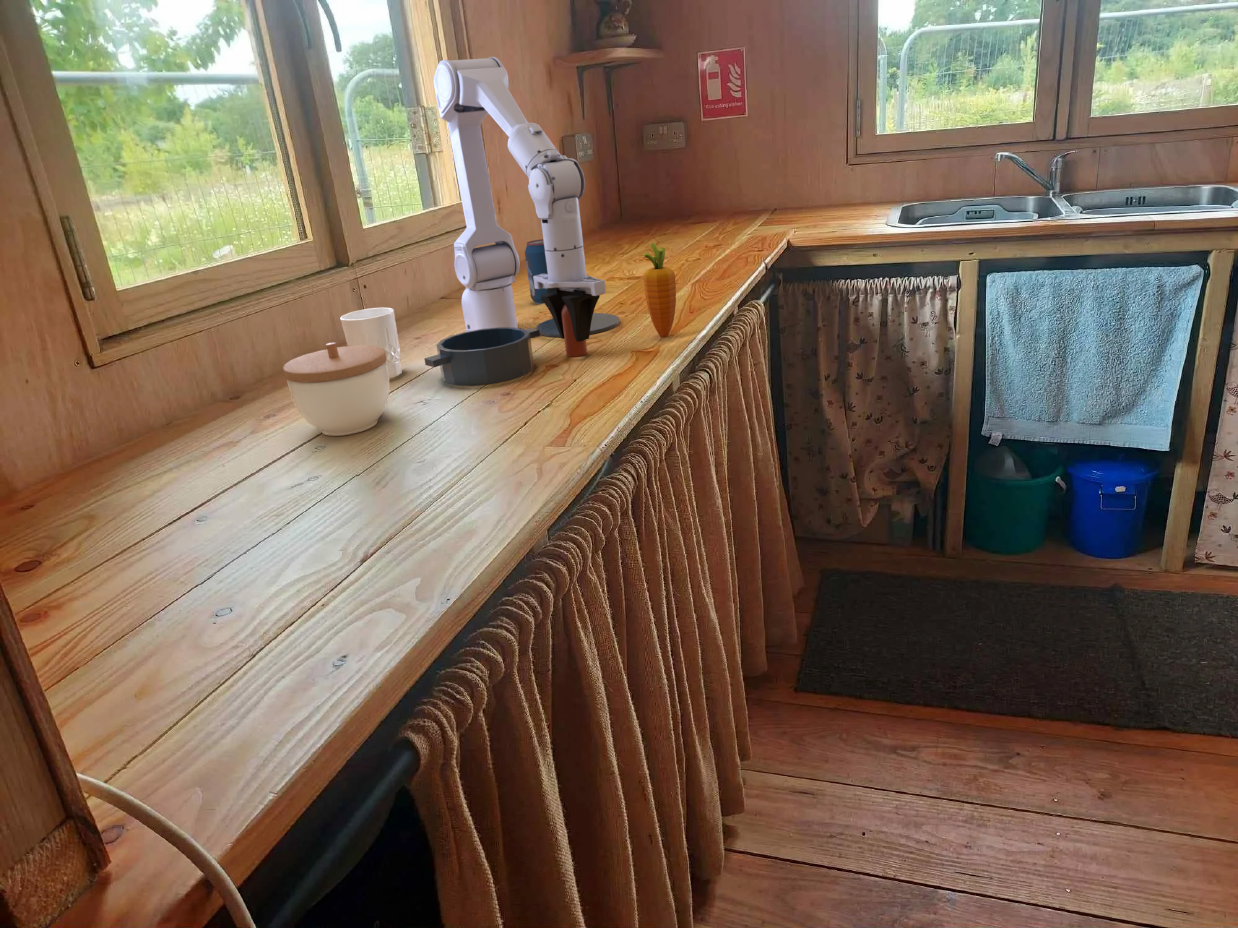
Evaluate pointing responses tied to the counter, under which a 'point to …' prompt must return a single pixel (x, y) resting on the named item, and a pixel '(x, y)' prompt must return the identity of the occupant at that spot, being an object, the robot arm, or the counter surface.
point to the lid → (598, 325)
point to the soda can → (536, 267)
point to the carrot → (660, 292)
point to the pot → (485, 356)
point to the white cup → (374, 333)
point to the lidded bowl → (340, 387)
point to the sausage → (571, 336)
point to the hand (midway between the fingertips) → (574, 338)
